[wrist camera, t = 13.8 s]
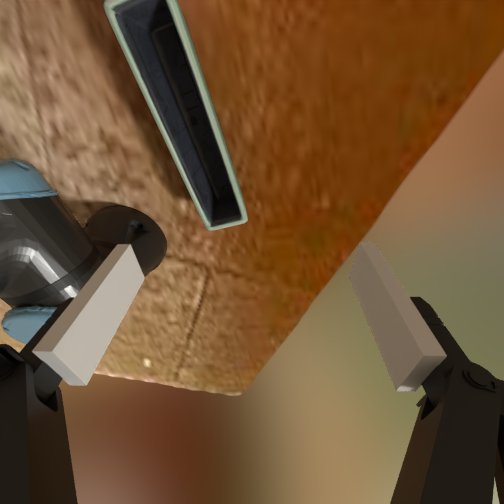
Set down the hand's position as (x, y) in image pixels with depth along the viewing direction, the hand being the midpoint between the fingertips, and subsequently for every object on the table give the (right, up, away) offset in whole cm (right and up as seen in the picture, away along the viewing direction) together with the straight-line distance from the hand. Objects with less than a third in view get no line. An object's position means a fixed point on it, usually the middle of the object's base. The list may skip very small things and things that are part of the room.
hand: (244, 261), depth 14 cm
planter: (-7, +19, +22) cm, 30 cm away
